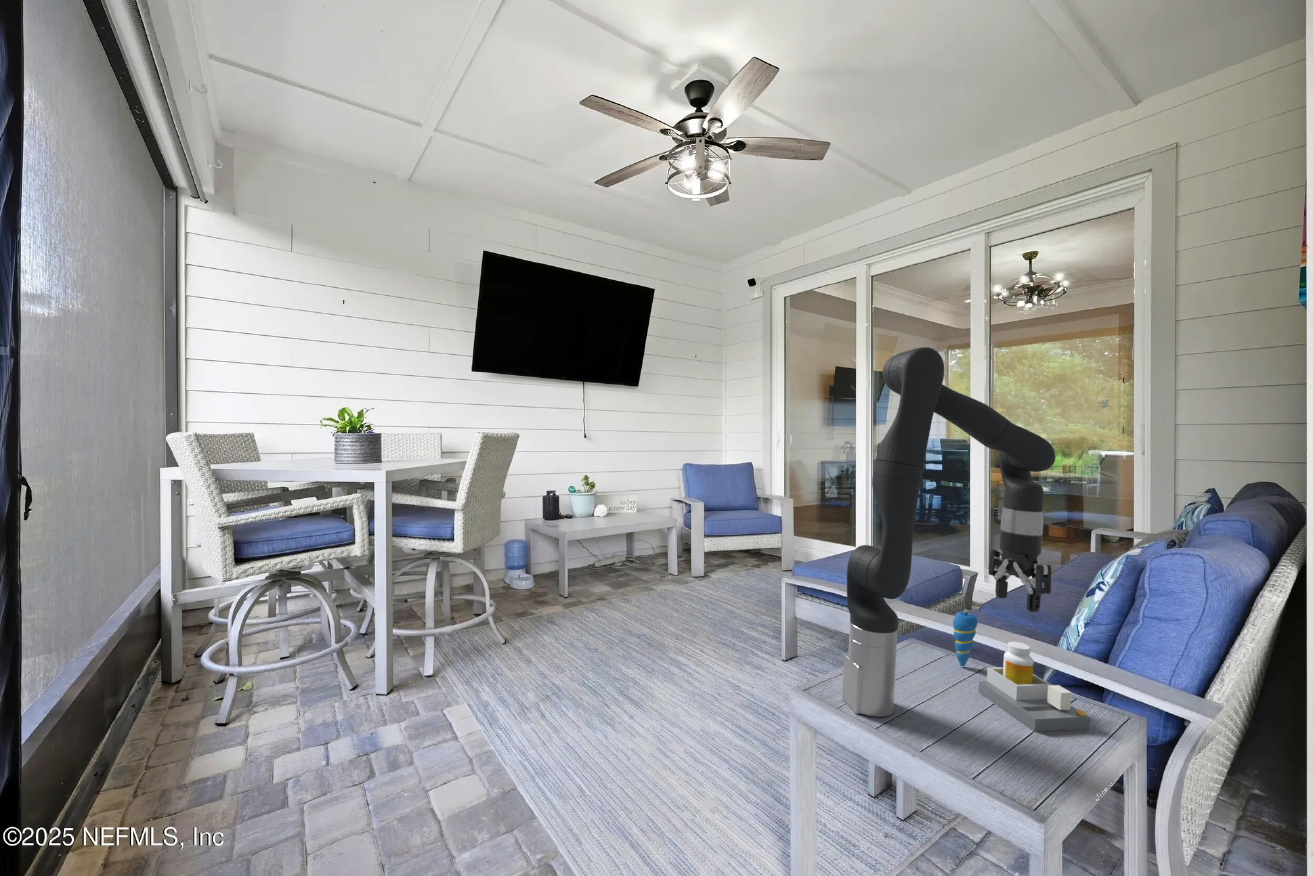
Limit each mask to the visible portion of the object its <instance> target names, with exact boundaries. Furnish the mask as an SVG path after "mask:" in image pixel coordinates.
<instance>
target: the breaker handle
mask: <svg viewBox="0 0 1313 876" xmlns="http://www.w3.org/2000/svg"><path fill="white" fill-rule="evenodd" d="M1072 695H1073V694H1072V691H1070V690H1068V689H1066V688H1065V687H1063V686H1061V685H1059V684H1051V685H1048V696H1047V702H1048V703H1049V704H1051V705H1053V706H1054V707H1056V708H1057V709H1059V710H1071V706H1072Z"/></svg>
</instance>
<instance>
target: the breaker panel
mask: <svg viewBox="0 0 1313 876" xmlns="http://www.w3.org/2000/svg"><path fill="white" fill-rule="evenodd" d="M1048 685H1052V684H1051V683H1050V682H1048V681H1046V680H1044V679H1042V678H1041V677H1039V676H1038V675H1036V674H1034V673H1033V683H1032V684H1023V685H1017V684H1015V683H1014V682H1012V681H1011V680H1009V679H1007V678H1006V677H1004V676H1003V667H1001V666H1000V667H997V666H996V667H987V672H986V680H979V681H978V693H979V694H980V695H982V696H983V697H985V698H986V699H988V700H989V701H990V702H992V703H993V704H995V706H998V708H999V709H1002V710H1003V711H1004V712H1006V713H1007V714H1008V715H1011V717H1013V718H1014V719H1016V720H1017V721H1019V722H1020V723H1021V724H1023V725H1024V726H1026V727H1027V728H1028V729H1030V730H1031V731H1033V732H1034V733H1037V732H1053V731H1055V732H1057V731H1075V730H1089V729H1090V727H1089V726H1090V716H1089V715H1087V714H1086V711H1084V710H1083V709H1077V708H1076V707H1074V706H1072V705H1071V710H1059V709H1057V708H1056V707H1054V706H1053V705H1051V704H1049V703H1048V702H1047V696H1048Z"/></svg>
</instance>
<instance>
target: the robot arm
mask: <svg viewBox="0 0 1313 876" xmlns="http://www.w3.org/2000/svg"><path fill="white" fill-rule="evenodd" d="M883 365H884V366H883V368H882V379H883V381H884V384H885V385H886V387H887V388H888V389H890V390H891V391H892V392H894V393H896V394H898V395H899V396H900V398H899V403H898V408H897V412H896V415H895V416H894V420H893V422H892V423H891V425H890V426H889V429H888V430H887V432H886V434H885V435H884V437H883V439H882V441H881V443H880V445H879V448H878V450H877V453H876V457H875V461H874V467H873V473H872V480H871V483H872V484H871V485H872V491H873V495H874V498H875V501H876V504H877V507H878V511H879V514H880V516H881V521H882V538H881V546H880V547H876V546H873V545H868V544H863V545H859V546H857V547H855V549H854V550H853V551H852V552H851V554H850V556H849V559H848V561H847V567H846V604H847V610H848V612H849V635H848V652H847V653H848V654H845V655H844V657H843V674H842V675H843V677H842V691H841V693H842V694H841V695H842V696H841V698H842V700H843V701H844V702H845V704H847V706H848V707H850V708H851V710H852V712H854V713H855V714H859V715H860V714H862V715H865V716H868V717H873V718H874V717H876V718H881V717H883V718H885V717H888V716H891V715H892V714H893V712H894V706H895V705H894V704H895V687H896V686H895V685H896V664H897V663H896V662H897V650H898V649H897V647H898V646H897V644H898V631H899V630H898V629H899V628H898V627H899V617H898V614H897V613H896V611H895V610H894V609H892V607H891V606H890V605H889V604H888V603H887V601H886V600H885V599H888V600H896V599H898V598H900V597H901V596H902V595H903V593H904V592H905V591H906V589H907V587H908V584H909V581H910V577H911V572H912V571H911V570H912V560H913V558H912V557H913V541H914V530H915V529H914V528H915V519H916V514H917V513H916V512H917V507H918V502H919V501H918V499H919V494H920V489H921V487H922V479H923V475H924V468H925V461H926V454H927V453H926V452H927V448H928V445H929V439H930V433H931V432H930V431H931V427H932V422H933V418H934V413H935V414H936V415H938V416H940V417H941V418H943V419H945V420H947V421H948V422H950V423H951V424H953V425H955V427H957V428H959V429H960V430H961V431H962V432H965V433H966V434H967V435H969V436H970V437H971V438H973V439H974V440H976V442H978V443H980V444H981V445H983V446H985V447H986V448H988V449H991V450H994V451H999V452H998V465H999V470H1000V473H1001V474H1000V475H1001V481H1002V484H1003V486H1004V493H1003V506H1002V507H1003V508H1002V513H1001V519H1000V529H999V530H1000V531H999V532H1000V534H999V546H998V547H999V549H991V550H990V554H989V562H988V564H989V565H988V575H989V576H993V579H994V580H995V590H994V593H995V597H996V598H998V599H1006V598H1007V597H1008V588H1009V582H1008V580H1009V579H1010V577H1011V576H1014V577H1015V578H1018V579H1019V580H1020V581H1021V583H1022V584H1023V585H1024V586H1025V588H1026V590H1027V593H1026V594H1027V596H1026V610H1027V612H1030V613H1033V612H1034V613H1035V612H1036V613H1037V612H1039V610H1040V609H1041V597H1042V595H1047V594H1048V595H1050V594H1051V592H1052V590H1051V589H1052V566H1051V565H1050V564H1043V563H1042V564H1041V563H1039V561H1038V557H1039V555H1041V554H1042V547H1043V546H1042V545H1043V534H1044V533H1043V532H1044V531H1043V530H1044V517H1043V516H1044V515H1043V514H1044V513H1043V511H1044V508H1043V507H1044V497H1045V496H1044V495H1045V494H1044V487H1043V486H1042V485H1041V484H1039V483H1036V481H1033V479H1032V476H1031V475H1032V474H1031V472H1034V473H1040V472H1041V473H1042V472H1045V471H1047V470H1049V469H1050V468H1051V467H1053V465H1054V463H1055V461H1056V459H1057V458H1056V452H1055V448H1054V447H1053V446H1052V444H1051V443H1050V442H1049V441H1048V440H1046V439H1045V438H1044V437H1041V436H1040V435H1038V434H1036V433H1035V432H1032V431H1030V430H1028V429H1026V428H1024V427H1021V426H1019V425H1017V424H1015V423H1013V422H1012V421H1011V420H1009V419H1008V418H1007V417H1005V416H1004V415H1003V414H1001V413H999V412H998V411H997V410H995V409H994V408H993V407H991V406H989V405H988V404H986V403H984V402H982V401H980V400H977V399H975V398H973V397H970V396H968V395H966V394H963V393H961V392H958V391H956V390H954V389H951V388H950V387H948V386H946V385H944V384H943V382H944V378H945V363H944V359H943V357H942V356H941V354H940V353H939V352H938V350H936V349H934V348H932V347H928V346H924V347H923V346H921V347H917V348H913V349H909V350H905V351H902V352H899V353H896V354H895V355H892V356H890V358H888V359H887V360H886V361H885V363H884V364H883Z"/></svg>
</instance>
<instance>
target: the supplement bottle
mask: <svg viewBox="0 0 1313 876" xmlns="http://www.w3.org/2000/svg"><path fill="white" fill-rule="evenodd" d="M1007 643H1008V644H1007V651H1005V652H1004V654H1003V663H1002V664H1003V665H1002V666H1003V676H1004V677H1006V678H1007V679H1009V680H1011V681H1012V682H1014V683H1015V684H1017V685H1023V684H1032V683H1033V674H1034V659H1033V658H1032V657H1031V656H1030V655H1031V647H1030V646H1029V645H1028V644H1025V643H1023V642H1019V641H1008V642H1007Z"/></svg>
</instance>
